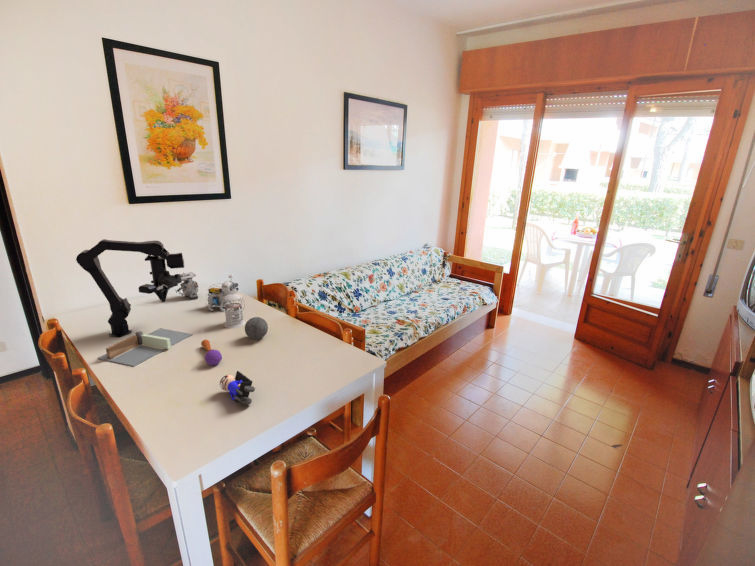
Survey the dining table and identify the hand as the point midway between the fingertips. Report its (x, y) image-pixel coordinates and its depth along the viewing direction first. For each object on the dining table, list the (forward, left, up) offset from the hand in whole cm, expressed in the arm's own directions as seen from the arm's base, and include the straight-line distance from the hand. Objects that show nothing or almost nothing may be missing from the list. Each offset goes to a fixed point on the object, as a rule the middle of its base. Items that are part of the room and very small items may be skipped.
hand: (163, 302), depth 169 cm
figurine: (-21, +36, -13) cm, 44 cm away
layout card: (+7, -17, -13) cm, 23 cm away
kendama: (+37, -16, -14) cm, 42 cm away
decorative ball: (+45, +5, -13) cm, 47 cm away
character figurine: (+65, -36, -13) cm, 75 cm away
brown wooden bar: (+3, -23, -13) cm, 27 cm away
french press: (+26, +16, -13) cm, 33 cm away
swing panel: (+11, -17, -12) cm, 24 cm away
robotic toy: (+7, +31, -13) cm, 34 cm away
